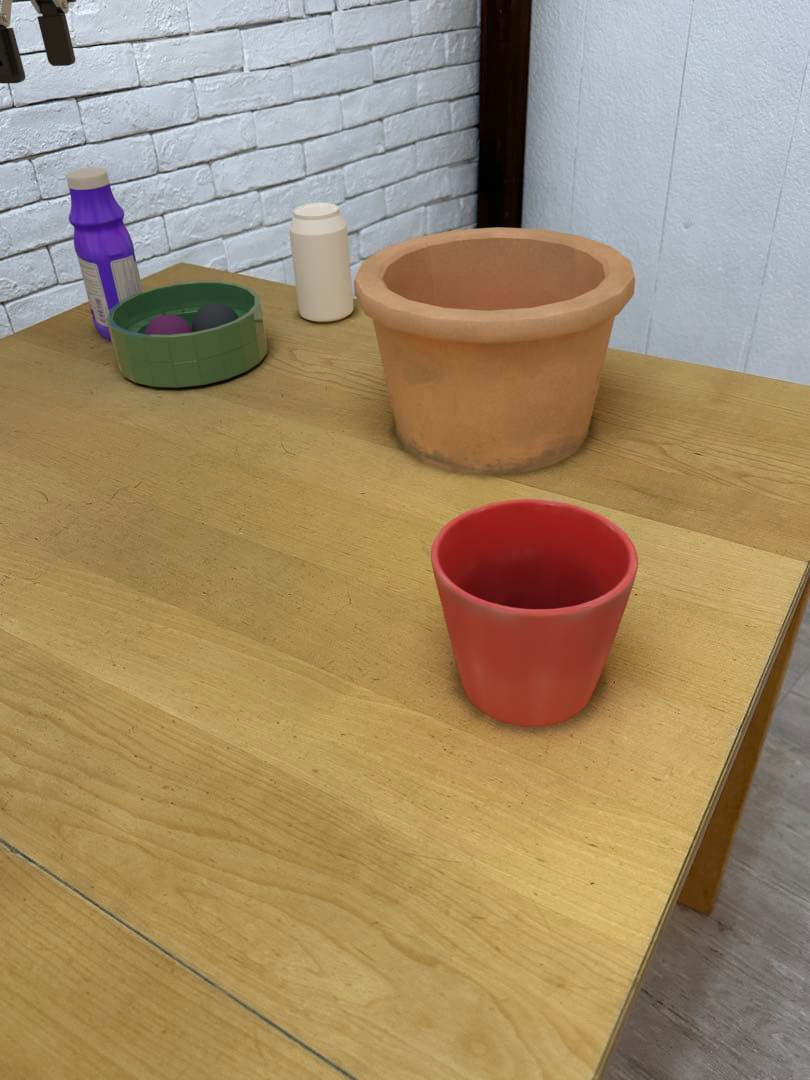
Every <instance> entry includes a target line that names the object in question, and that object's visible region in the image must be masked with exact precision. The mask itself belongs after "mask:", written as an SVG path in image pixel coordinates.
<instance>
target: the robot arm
mask: <svg viewBox="0 0 810 1080" xmlns="http://www.w3.org/2000/svg"><path fill="white" fill-rule="evenodd" d="M13 1H14V0H0V84H3V85H4V84H19V83H22V82H24V81H25V79H26V73H25V69H24V65H23V61H22V58H21V53H20V49H19V45H18V42H17V39H16V34H15V30H14V27H10V26H11V20H12V19H11V18H12V7H13V6H12V5H13ZM29 2H30V3H31V5H32V7H33V8H34V10H35V11H36V13H37V14H38V16H37V22H38V26H39V29H40V34H41V39H42V42H43V46H44V49H45V54H46V58H47V61H48V64H50V66H53V67H68V66H71V65H74V64H75V62H76V55H75V51H74V45H73V42H72V38H71V33H70V29H69V25H68V20H67V16H66V15H67V14H68V13H69V7H70V6H69V4H70V3H76V2H77V0H29Z"/></svg>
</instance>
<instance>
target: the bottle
mask: <svg viewBox="0 0 810 1080" xmlns="http://www.w3.org/2000/svg"><path fill="white" fill-rule="evenodd" d="M65 178H66V182H67V187H68V191H69V195H70V210H69V214H68V222H69V223H70V225H71V226H72V227H73V247H74V251H75V253H76V257H77V261H78V264H79V268H80V272H81V276H82V280H83V284H84V288H85V292H86V296H87V300H88V304H89V308H90V313H91V316H92V322H93V324H94V325H93V326H94V327H95V329H96V331H97V332H98V334H99V335H100V336H101V337H102V338H103V339H105V340H107V341H110V342H112V341H111V337H110V333H109V329H108V324H107V320H106V319H107V316H108V313H109V310H110V309H111V308H113V307H114V306H115V305H116V304H117V303H118V302H120V301H122V300H124V299H126V298H128V297H130V296H132V295H134V294H136V293H139V292H142V291H144V289H143V285H142V281H141V277H140V272H139V267H138V262H137V258H136V255H135V246H134V242H133V240H132V237H131V234H130V232H129V230H128V229H127V227H126V225H125V223H124V218H125V210H124V209H123V208H122V207H121V206H120V204H119V203H118V201H117V200H116V198H115V196H114V193H113V191H112V186H111V184H110V180H109V175H108V171H107V169H106V168H103V167H96V166H91V167H90V166H89V167H82V168H77V169H73V170H71V171H69V172H67V173H66V174H65Z"/></svg>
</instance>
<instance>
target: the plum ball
mask: <svg viewBox="0 0 810 1080" xmlns="http://www.w3.org/2000/svg"><path fill="white" fill-rule="evenodd" d="M183 333H193V330H192V328H191V326H190V325H189V324H188V323H187V322H186V321H185V320H184V319H182V318H180V317H178V316H175V315H170V314H166V315H161V316H158V317H156V318H154V319H153V320H152V321H151V322H150V323H149V324H148V326H147V327H146V330H145V333H144V334H150V335H173V334H183Z"/></svg>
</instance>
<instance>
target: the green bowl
mask: <svg viewBox="0 0 810 1080" xmlns="http://www.w3.org/2000/svg"><path fill="white" fill-rule="evenodd" d="M209 303H222V304H225V305H227V306H229V307H230V308H232V309H233V310H234V311H235V312H236V314H237V315H238V317H239V318H238V319H236V320H235V321H232V322H229V323H227V324H224V325H221V326H218V327H216V328H211V329H207V330H202V331H198V332H193V333H183V334H173V335H150V334H144V333H145V330H146V327H147V326H148V324H149V323H150V322H151V321H152V320H153V319H154V318H156V317H158V316H161V315H166V314H170V315H175V316H178V317H180V318H182V319H184V320H185V321H186V322H187V323H188V324H189V325H190V326H191V328H192V321H193V317H194V315H195V314H196V312H197V311H198V310H199V309H200V308H201V307H202V306H204V305H206V304H209ZM106 320H107V324H108V329H109V333H110V337H111V341H110V342H111V344H112V348H113V352H114V357H115V360H116V364H117V368H118V370H119V371H120V373H121V375H122V376H123V377H124V378H125V379H128V380H129V381H131V382H133V383H135V384H140V385H144V386H150V387H155V388H176V389H177V388H185V387H186V388H187V387H196V386H197V387H198V386H205V385H209V384H214V383H217V382H222V381H227V380H229V379H231V378H234V377H236V376H238V375H241V374H244V373H246V372H248V371H249V370H251V369H253V367H255V366H257V365H258V364H259V363H261V362H262V361H263V359H264V358H265V356H266V355H267V354H268V341H267V334H266V333H267V332H266V326H265V321H264V320H265V319H264V312H263V305H262V298H261V295H260V294H259V293H258V292H256V291H255V289H253V288H251V287H249V286H246V285H244V284H240V283H236V282H235V283H234V282H228V281H221V280H195V281H194V280H193V281H184V282H177V283H170V284H165V285H161V286H156V287H152V288H149V289H146V290H143V291H142V292H139V293H136V294H134V295H132V296H130V297H128V298H126V299H124V300H122V301H120V302H118V303H117V304H116V305H115V306H114V307H113V308H111V309H110V310H109V313H108V316H107V319H106Z"/></svg>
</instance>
